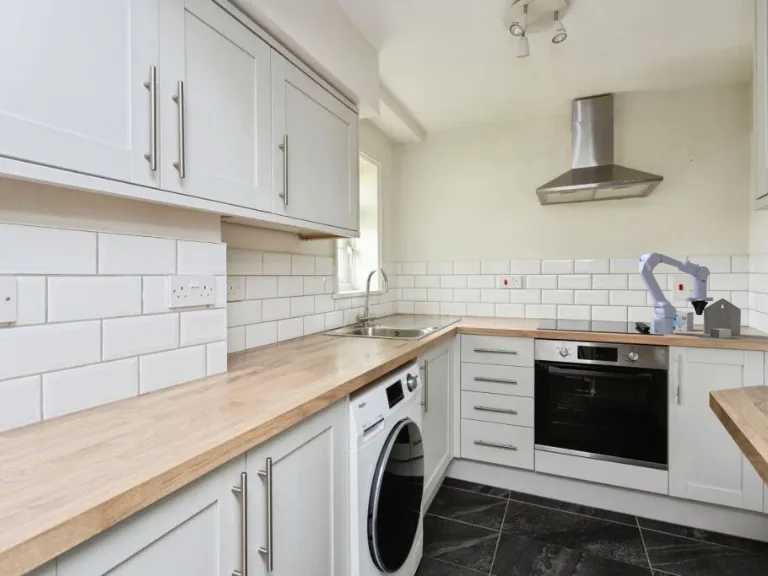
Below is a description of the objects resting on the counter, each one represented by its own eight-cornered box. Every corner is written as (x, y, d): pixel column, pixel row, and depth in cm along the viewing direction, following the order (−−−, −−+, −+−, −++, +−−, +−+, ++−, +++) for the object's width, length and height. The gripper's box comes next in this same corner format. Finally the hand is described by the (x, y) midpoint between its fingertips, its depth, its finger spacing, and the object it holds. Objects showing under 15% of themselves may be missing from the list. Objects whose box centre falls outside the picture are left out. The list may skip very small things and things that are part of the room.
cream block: (718, 329, 192) (731, 329, 194) (710, 328, 196) (722, 328, 197) (718, 338, 193) (730, 337, 194) (710, 336, 197) (722, 336, 198)
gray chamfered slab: (730, 333, 211) (731, 297, 210) (740, 336, 203) (741, 298, 202) (695, 332, 214) (696, 297, 214) (703, 334, 207) (704, 298, 206)
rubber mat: (699, 339, 192) (699, 338, 192) (690, 335, 204) (690, 334, 203) (740, 341, 186) (740, 340, 186) (729, 337, 198) (729, 336, 198)
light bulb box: (666, 329, 229) (666, 310, 228) (672, 328, 232) (673, 310, 232) (687, 331, 219) (687, 312, 219) (693, 330, 222) (694, 311, 222)
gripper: (694, 289, 201) (694, 316, 201) (719, 289, 203) (718, 315, 204) (682, 289, 208) (681, 314, 208) (706, 288, 210) (705, 314, 211)
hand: (699, 315), depth 206 cm, fingers closed
